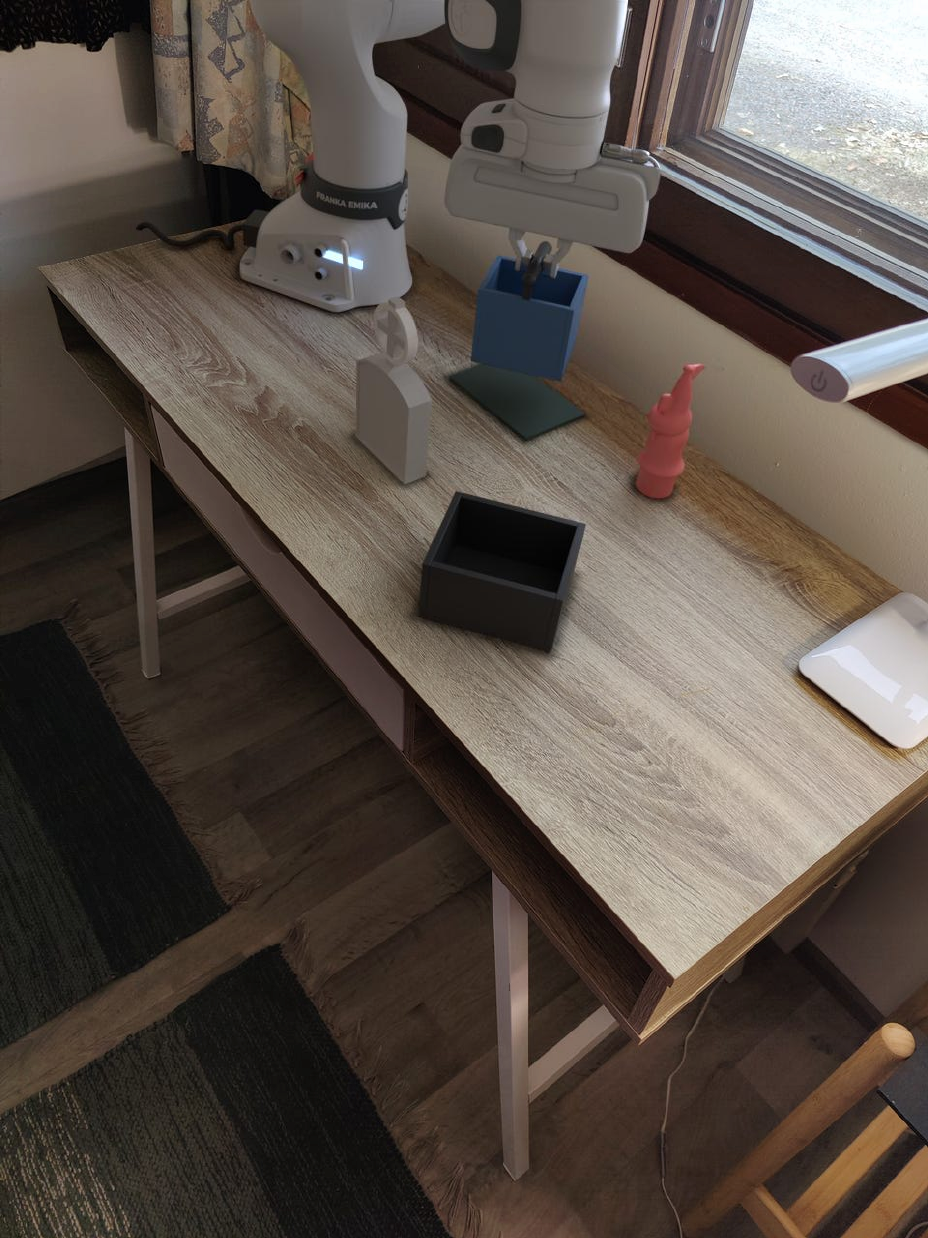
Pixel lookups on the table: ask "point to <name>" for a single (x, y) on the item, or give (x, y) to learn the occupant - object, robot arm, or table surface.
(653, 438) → the figurine
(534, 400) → the mat
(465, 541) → the charcoal bin
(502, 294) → the blue bin
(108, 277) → the table surface
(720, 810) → the table surface
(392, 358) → the gravestone
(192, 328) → the table surface
